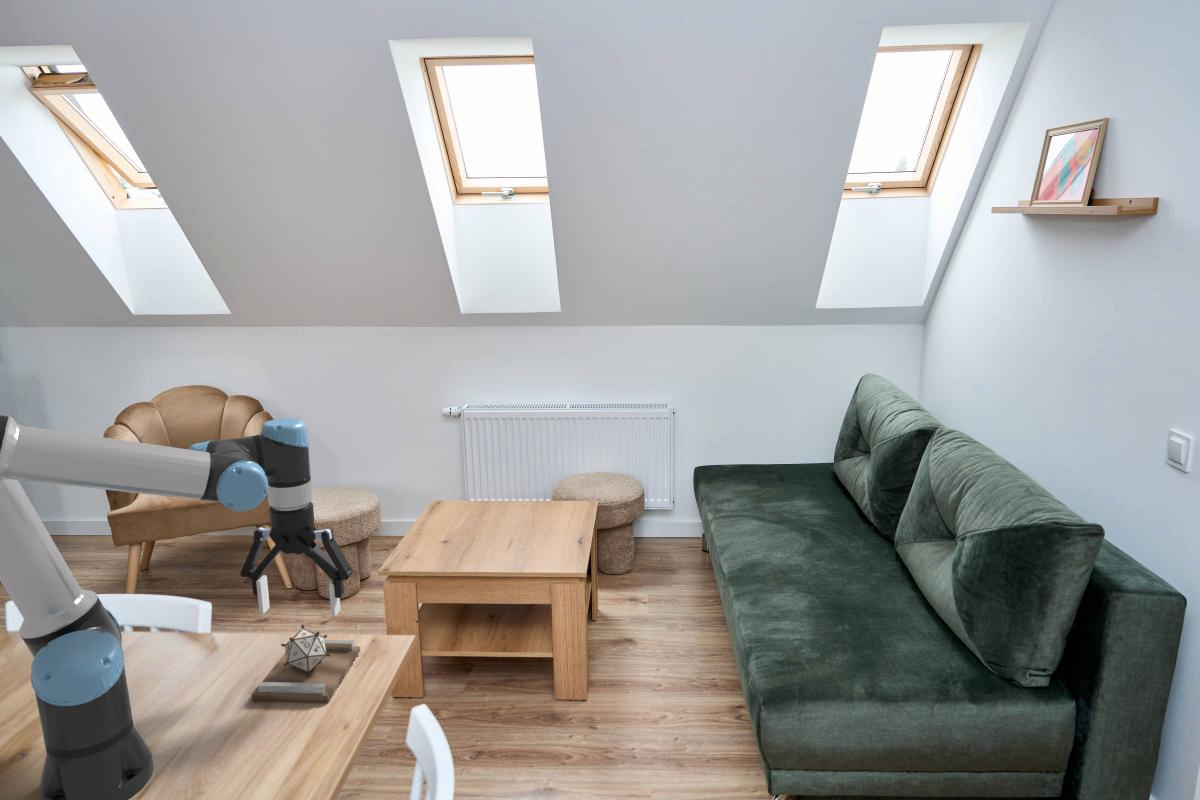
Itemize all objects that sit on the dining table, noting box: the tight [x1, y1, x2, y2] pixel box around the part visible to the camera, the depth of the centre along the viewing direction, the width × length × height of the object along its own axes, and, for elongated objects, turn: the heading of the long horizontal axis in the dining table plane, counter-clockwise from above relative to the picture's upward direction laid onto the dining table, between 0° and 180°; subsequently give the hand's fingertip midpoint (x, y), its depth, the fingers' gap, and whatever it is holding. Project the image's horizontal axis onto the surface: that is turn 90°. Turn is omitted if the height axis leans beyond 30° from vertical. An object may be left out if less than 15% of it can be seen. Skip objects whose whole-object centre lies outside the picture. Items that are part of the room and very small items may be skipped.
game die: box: [280, 623, 331, 677], centre depth 159 cm, size 9×8×10 cm
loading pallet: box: [251, 639, 361, 704], centre depth 160 cm, size 17×14×3 cm
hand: (300, 612), depth 157 cm, fingers open, 13 cm apart
